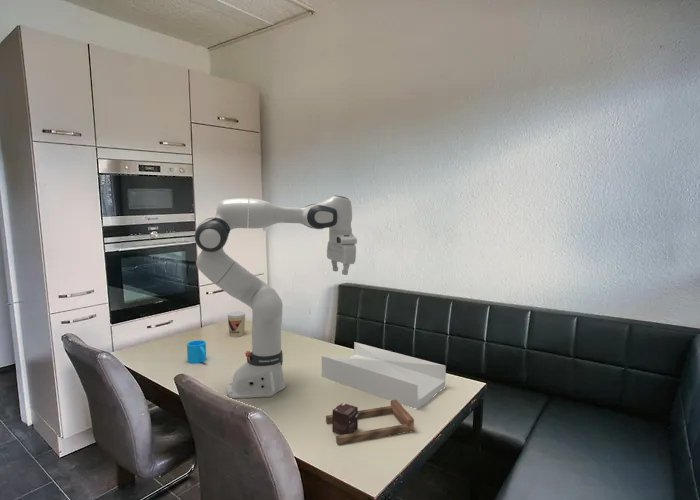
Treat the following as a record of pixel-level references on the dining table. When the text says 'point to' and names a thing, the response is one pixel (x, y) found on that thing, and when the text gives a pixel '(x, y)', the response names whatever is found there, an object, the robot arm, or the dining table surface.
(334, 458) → the dining table surface
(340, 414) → the box
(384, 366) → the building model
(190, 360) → the mug
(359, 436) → the guide channel
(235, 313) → the coffee cup
